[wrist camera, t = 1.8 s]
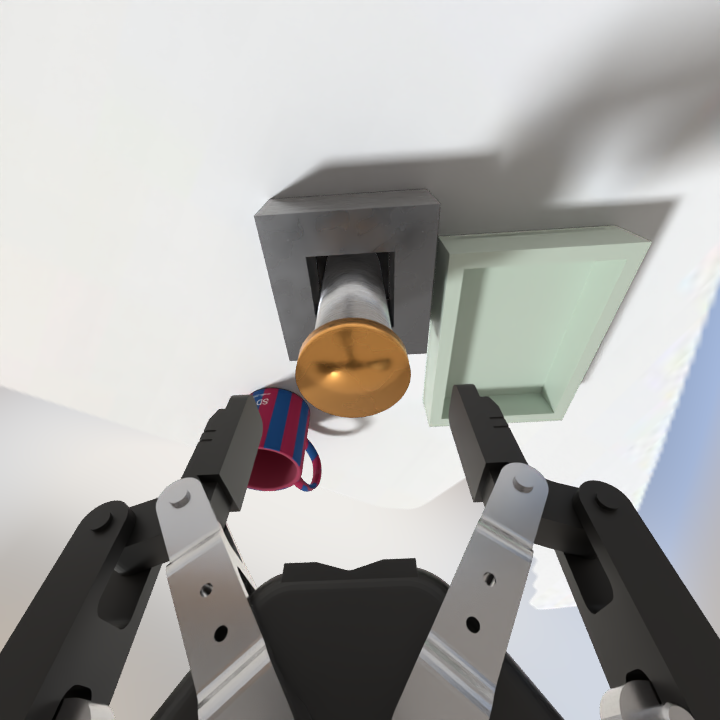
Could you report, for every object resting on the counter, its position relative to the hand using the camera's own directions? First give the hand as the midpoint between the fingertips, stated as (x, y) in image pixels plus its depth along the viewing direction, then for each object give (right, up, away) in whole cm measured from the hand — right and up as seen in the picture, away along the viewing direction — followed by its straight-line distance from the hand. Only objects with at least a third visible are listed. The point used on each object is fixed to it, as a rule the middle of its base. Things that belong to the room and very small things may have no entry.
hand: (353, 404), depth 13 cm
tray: (+12, +4, +14) cm, 19 cm away
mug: (-7, -4, +21) cm, 22 cm away
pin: (0, +8, +10) cm, 13 cm away
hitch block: (0, +8, +10) cm, 13 cm away
